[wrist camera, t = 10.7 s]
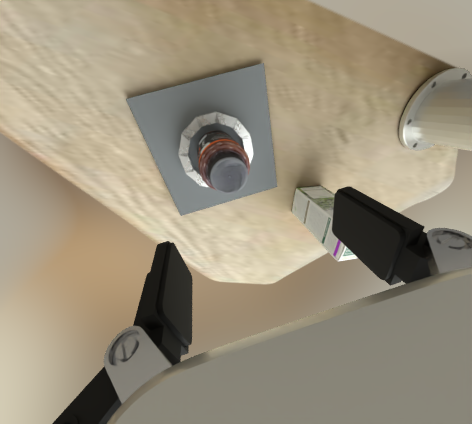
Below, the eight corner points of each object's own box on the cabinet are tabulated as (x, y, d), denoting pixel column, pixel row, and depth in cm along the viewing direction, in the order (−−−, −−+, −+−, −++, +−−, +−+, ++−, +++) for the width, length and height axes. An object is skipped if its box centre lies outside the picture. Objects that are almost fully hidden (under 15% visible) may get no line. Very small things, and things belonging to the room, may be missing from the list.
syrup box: (290, 212, 38) (336, 264, 26) (295, 186, 35) (350, 231, 23) (315, 209, 39) (371, 258, 27) (322, 184, 36) (388, 225, 24)
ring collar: (241, 103, 26) (245, 104, 24) (253, 173, 31) (257, 177, 30) (168, 123, 25) (166, 125, 23) (194, 190, 31) (194, 196, 29)
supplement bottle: (189, 139, 27) (188, 160, 17) (227, 123, 26) (247, 134, 17) (207, 176, 30) (214, 210, 20) (241, 161, 30) (264, 188, 20)
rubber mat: (261, 64, 24) (263, 63, 24) (275, 185, 34) (277, 186, 33) (127, 99, 23) (125, 99, 23) (181, 213, 33) (180, 215, 32)
